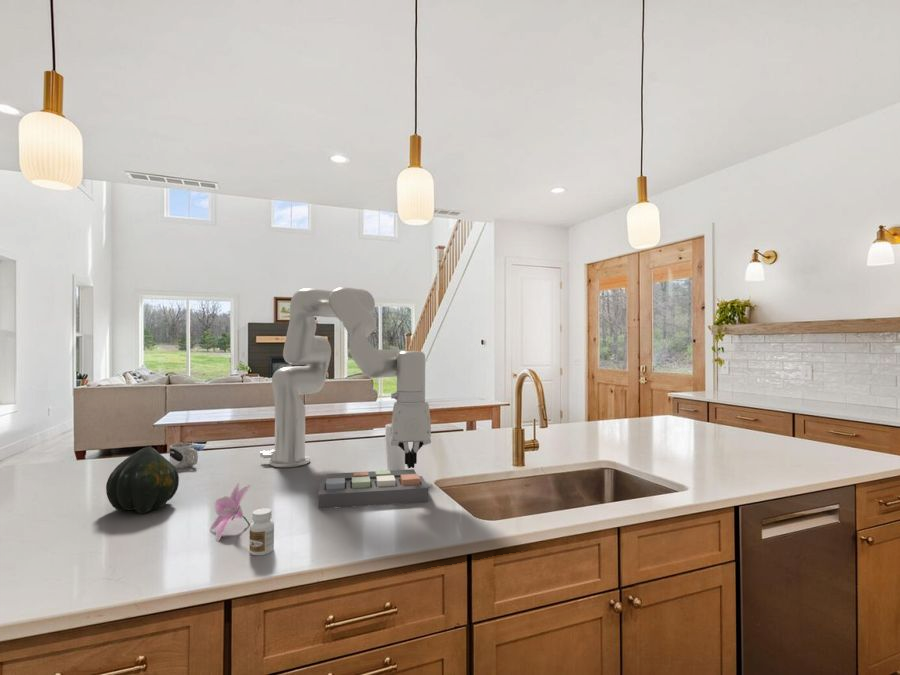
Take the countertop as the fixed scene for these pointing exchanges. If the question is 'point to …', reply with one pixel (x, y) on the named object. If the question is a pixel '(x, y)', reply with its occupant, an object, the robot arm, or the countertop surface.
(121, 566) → the countertop surface
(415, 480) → the terracotta key
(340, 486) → the slate key
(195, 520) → the countertop surface
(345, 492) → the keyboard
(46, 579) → the countertop surface
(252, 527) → the pill bottle
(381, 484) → the cream key
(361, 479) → the sage key
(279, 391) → the robot arm
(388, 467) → the drinking glass
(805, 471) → the countertop surface
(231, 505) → the lily
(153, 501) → the squash
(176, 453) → the mug
